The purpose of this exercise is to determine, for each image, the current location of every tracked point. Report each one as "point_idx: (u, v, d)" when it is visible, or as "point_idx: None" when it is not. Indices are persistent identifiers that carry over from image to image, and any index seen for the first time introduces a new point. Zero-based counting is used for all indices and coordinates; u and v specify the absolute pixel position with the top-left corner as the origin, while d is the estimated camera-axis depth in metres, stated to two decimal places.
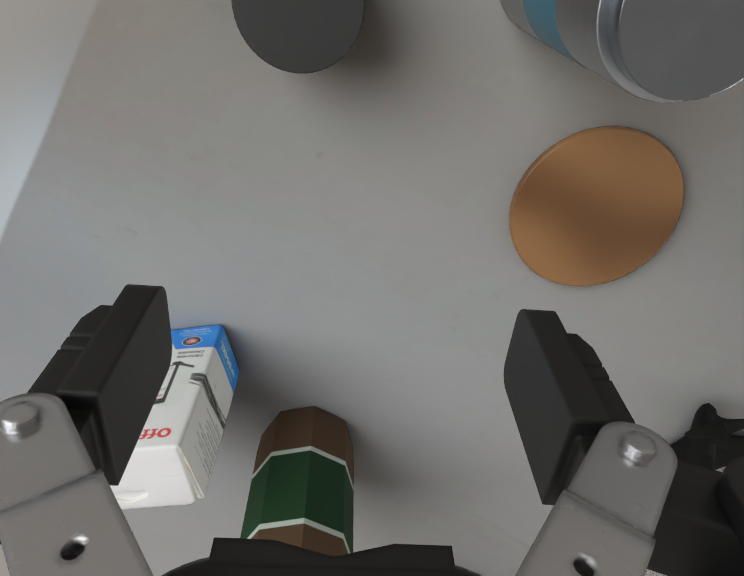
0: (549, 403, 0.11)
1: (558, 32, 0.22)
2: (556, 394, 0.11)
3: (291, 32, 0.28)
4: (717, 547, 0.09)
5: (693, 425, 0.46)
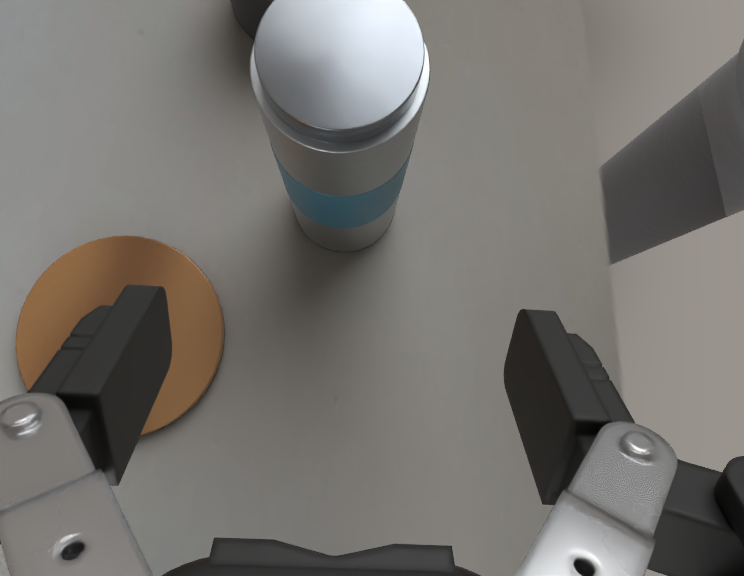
0: (549, 403, 0.11)
1: None
2: (556, 394, 0.11)
3: None
4: (717, 547, 0.09)
5: None
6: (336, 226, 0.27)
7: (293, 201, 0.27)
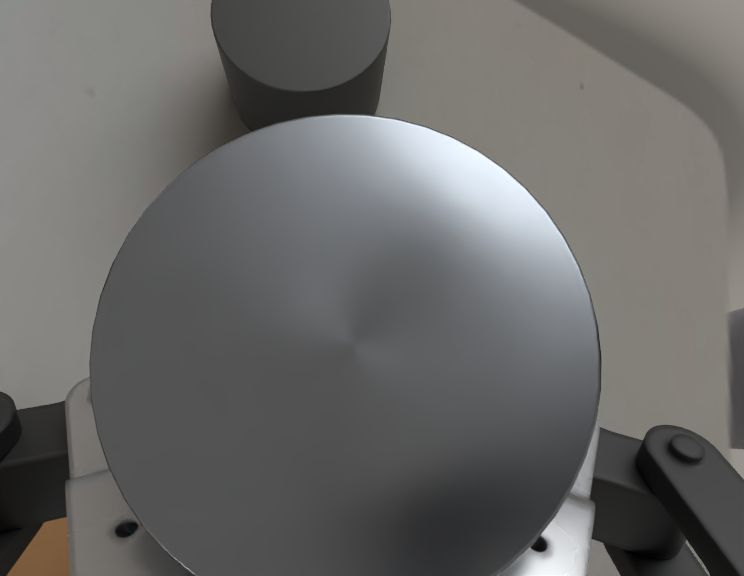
0: None
1: None
2: None
3: (266, 1, 0.20)
4: (636, 510, 0.09)
5: None
6: None
7: None
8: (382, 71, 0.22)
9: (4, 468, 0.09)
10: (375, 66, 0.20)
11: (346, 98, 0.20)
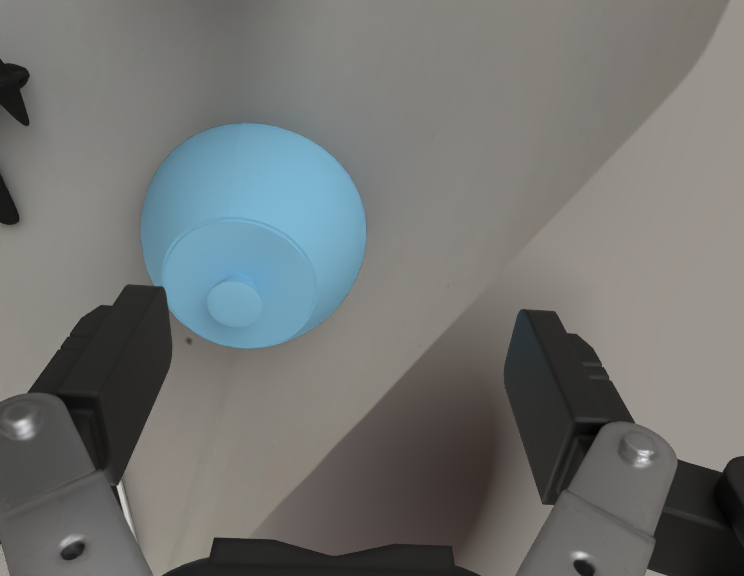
0: (549, 403, 0.11)
1: None
2: (556, 394, 0.11)
3: None
4: (717, 547, 0.09)
5: None
6: None
7: None
8: None
9: None
10: None
11: None
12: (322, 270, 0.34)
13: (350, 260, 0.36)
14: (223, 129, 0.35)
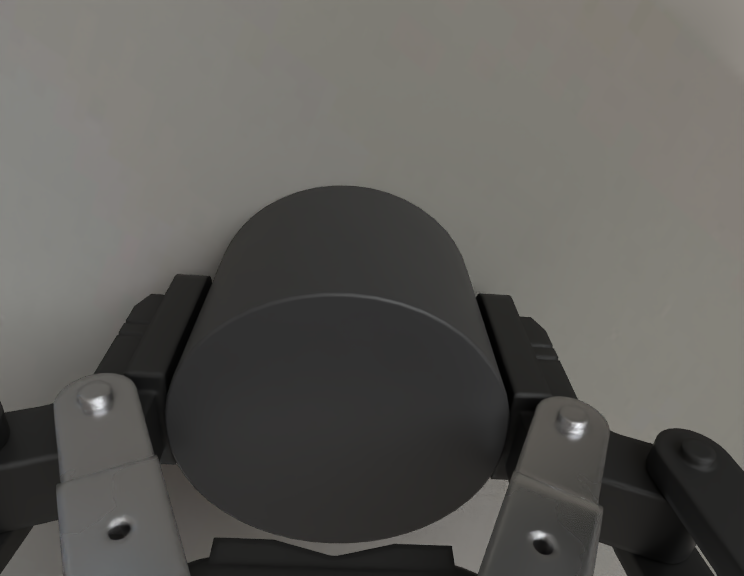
0: None
1: None
2: (503, 372, 0.11)
3: (271, 424, 0.10)
4: (646, 514, 0.09)
5: None
6: None
7: None
8: None
9: None
10: None
11: None
12: None
13: None
14: None
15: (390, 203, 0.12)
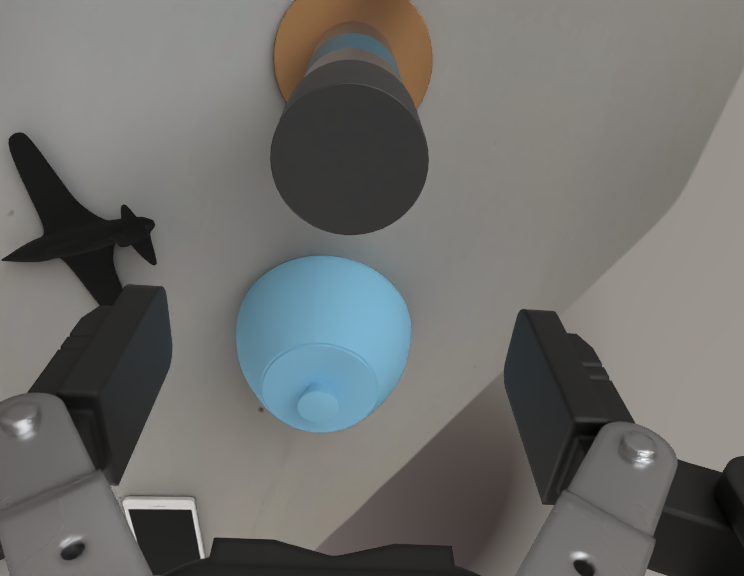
0: (549, 403, 0.11)
1: (325, 54, 0.30)
2: (556, 394, 0.11)
3: (318, 155, 0.22)
4: (717, 547, 0.09)
5: (122, 219, 0.45)
6: None
7: None
8: None
9: None
10: None
11: None
12: (382, 376, 0.44)
13: (401, 362, 0.47)
14: (303, 263, 0.46)
15: (375, 66, 0.24)
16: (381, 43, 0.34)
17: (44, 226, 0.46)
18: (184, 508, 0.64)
